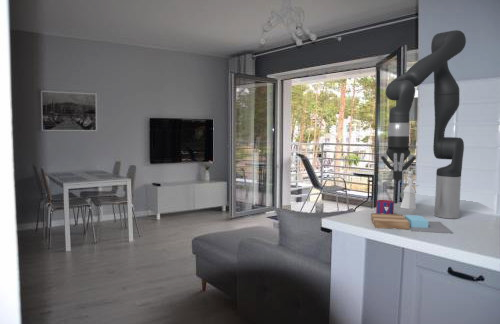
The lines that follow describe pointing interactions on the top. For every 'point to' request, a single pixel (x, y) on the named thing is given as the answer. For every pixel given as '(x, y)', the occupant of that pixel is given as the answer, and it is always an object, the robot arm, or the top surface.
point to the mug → (384, 207)
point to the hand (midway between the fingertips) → (397, 180)
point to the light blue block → (417, 221)
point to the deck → (390, 221)
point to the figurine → (409, 193)
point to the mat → (433, 228)
